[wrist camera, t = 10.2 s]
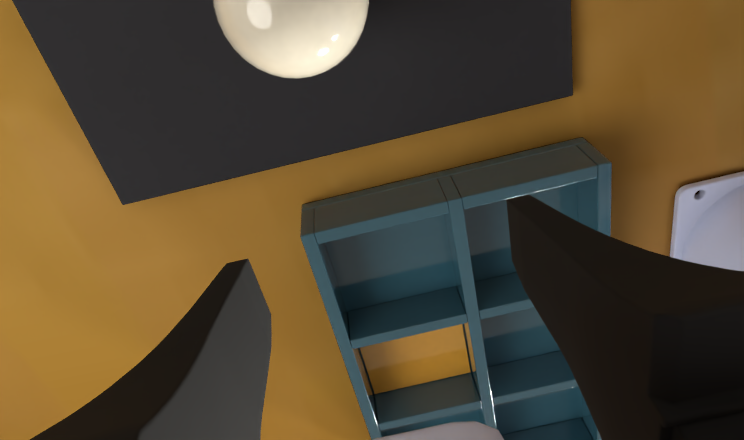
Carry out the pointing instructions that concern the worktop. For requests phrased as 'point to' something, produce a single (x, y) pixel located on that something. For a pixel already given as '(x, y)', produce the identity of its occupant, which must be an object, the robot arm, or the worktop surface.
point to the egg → (292, 33)
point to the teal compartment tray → (453, 294)
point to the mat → (285, 83)
